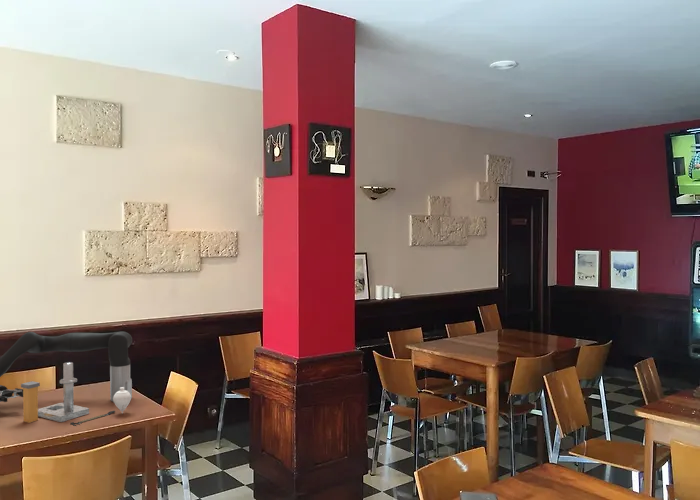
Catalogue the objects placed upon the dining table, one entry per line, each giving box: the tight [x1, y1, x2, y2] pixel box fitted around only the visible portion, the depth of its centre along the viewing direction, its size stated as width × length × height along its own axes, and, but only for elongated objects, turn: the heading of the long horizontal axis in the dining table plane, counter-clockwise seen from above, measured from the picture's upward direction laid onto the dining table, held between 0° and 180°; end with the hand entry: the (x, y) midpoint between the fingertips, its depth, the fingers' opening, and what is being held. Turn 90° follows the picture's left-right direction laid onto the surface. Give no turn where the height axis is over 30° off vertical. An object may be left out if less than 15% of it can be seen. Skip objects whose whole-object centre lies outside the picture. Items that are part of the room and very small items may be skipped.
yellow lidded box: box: [20, 380, 41, 424], centre depth 257 cm, size 5×5×16 cm
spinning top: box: [112, 387, 132, 415], centre depth 268 cm, size 8×8×12 cm
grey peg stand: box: [38, 361, 90, 423], centre depth 266 cm, size 19×14×24 cm
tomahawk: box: [70, 410, 116, 427], centre depth 260 cm, size 21×7×1 cm, turn 146°
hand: (16, 397), depth 262 cm, fingers open, 8 cm apart
